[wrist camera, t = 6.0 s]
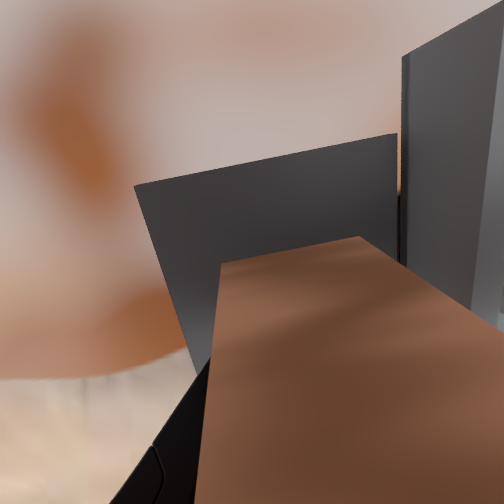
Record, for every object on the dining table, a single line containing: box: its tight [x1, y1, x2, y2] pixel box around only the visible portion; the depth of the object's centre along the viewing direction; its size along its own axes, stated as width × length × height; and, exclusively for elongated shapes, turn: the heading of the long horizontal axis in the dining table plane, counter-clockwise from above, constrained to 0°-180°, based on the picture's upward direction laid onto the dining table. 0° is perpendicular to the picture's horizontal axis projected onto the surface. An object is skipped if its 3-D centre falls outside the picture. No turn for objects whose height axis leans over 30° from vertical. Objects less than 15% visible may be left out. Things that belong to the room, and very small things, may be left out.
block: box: [194, 236, 504, 504], centre depth 6 cm, size 4×4×7 cm
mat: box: [134, 133, 397, 376], centre depth 12 cm, size 10×10×1 cm
